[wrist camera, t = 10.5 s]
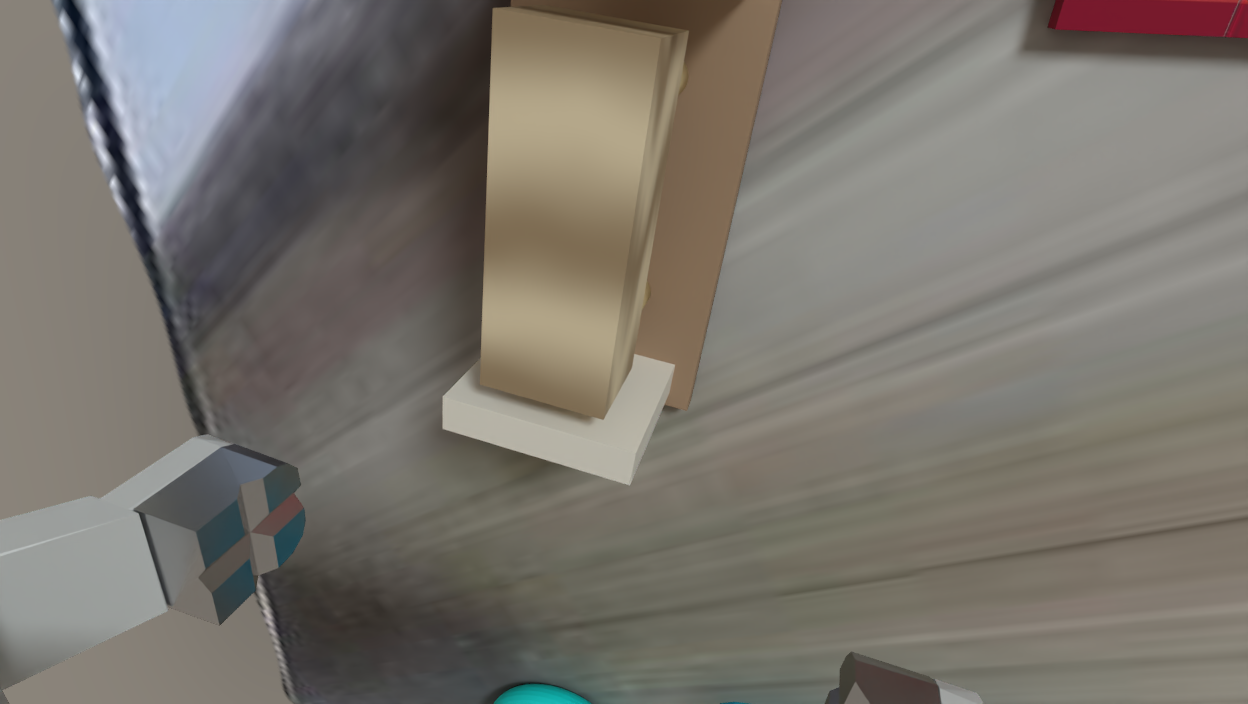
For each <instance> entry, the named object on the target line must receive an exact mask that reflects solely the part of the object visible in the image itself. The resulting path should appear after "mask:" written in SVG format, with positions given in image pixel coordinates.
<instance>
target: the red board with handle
mask: <svg viewBox="0 0 1248 704" xmlns="http://www.w3.org/2000/svg"><path fill="white" fill-rule="evenodd" d="M1048 28H1052V29H1057V30H1080V31H1102V32H1124V33H1146V34H1169V35H1191V36H1213V37H1235V38H1248V0H1056V1H1055V4H1054V8H1053V11H1052V14H1051V18H1050V21H1049V24H1048Z"/></svg>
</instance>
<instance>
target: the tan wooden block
mask: <svg viewBox="0 0 1248 704" xmlns="http://www.w3.org/2000/svg"><path fill="white" fill-rule="evenodd" d="M688 35H689V30H683V29H677V28H672V27H666V26H660V25H655V24H649V23H644V22H638V21H632V20H627V19H621V18H616V17H610V16H604V15H599V14H593V13H587V12H582V11H576V10H571V9H565V8H559V7H554V6H548V5H536V6H519V7H502V8H493V17H492V46H491V75H490V104H489V133H488V163H487V192H486V221H485V250H484V279H483V308H482V337H481V366H480V385H483V386H487V387H490V388H494V389H497V390H501V391H504V392H508V393H511V394H515V395H518V396H522V397H525V398H529V399H532V400H536V401H539V402H543V403H546V404H550V405H553V406H557V407H560V408H564V409H567V410H570V411H574V412H577V413H581V414H584V415H588V416H591V417H595V418H598V419H602V420H604V418H605V416H606V414H607V412H608V411H609V409H610V407H611V405H612V403H613V402H614V400H615V398H616V396H617V394H618V393H619V391H620V389H621V387H622V385H623V384H624V382H625V380H626V378H627V376H628V374H629V373H630V371H631V369H632V365H633V359H634V353H635V347H636V341H637V335H638V329H639V323H640V318H641V312H642V306H643V300H644V294H645V288H646V282H647V276H648V270H649V265H650V259H651V253H652V247H653V241H654V235H655V229H656V223H657V217H658V211H659V206H660V200H661V194H662V188H663V182H664V176H665V170H666V164H667V158H668V152H669V147H670V141H671V135H672V129H673V123H674V117H675V111H676V105H677V99H678V94H679V88H680V82H681V76H682V70H683V64H684V58H685V52H686V46H687V40H688Z"/></svg>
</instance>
